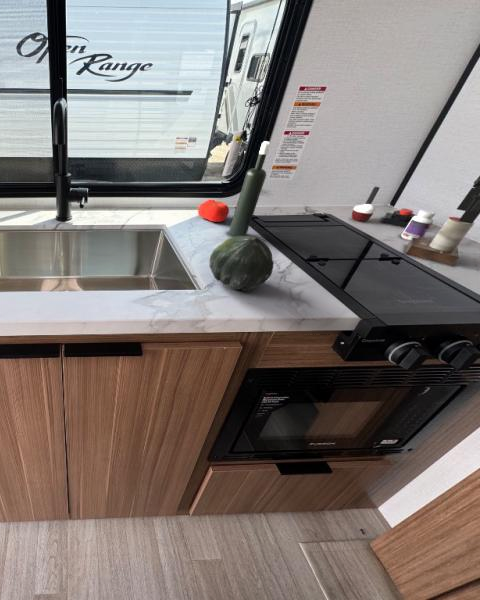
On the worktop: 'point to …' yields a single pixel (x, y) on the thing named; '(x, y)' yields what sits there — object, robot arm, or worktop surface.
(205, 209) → the tomato
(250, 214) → the wine bottle
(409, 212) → the button
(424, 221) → the pill bottle
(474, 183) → the robot arm
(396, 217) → the button box
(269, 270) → the squash
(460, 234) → the beige waisted cup
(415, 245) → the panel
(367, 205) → the cocoa
